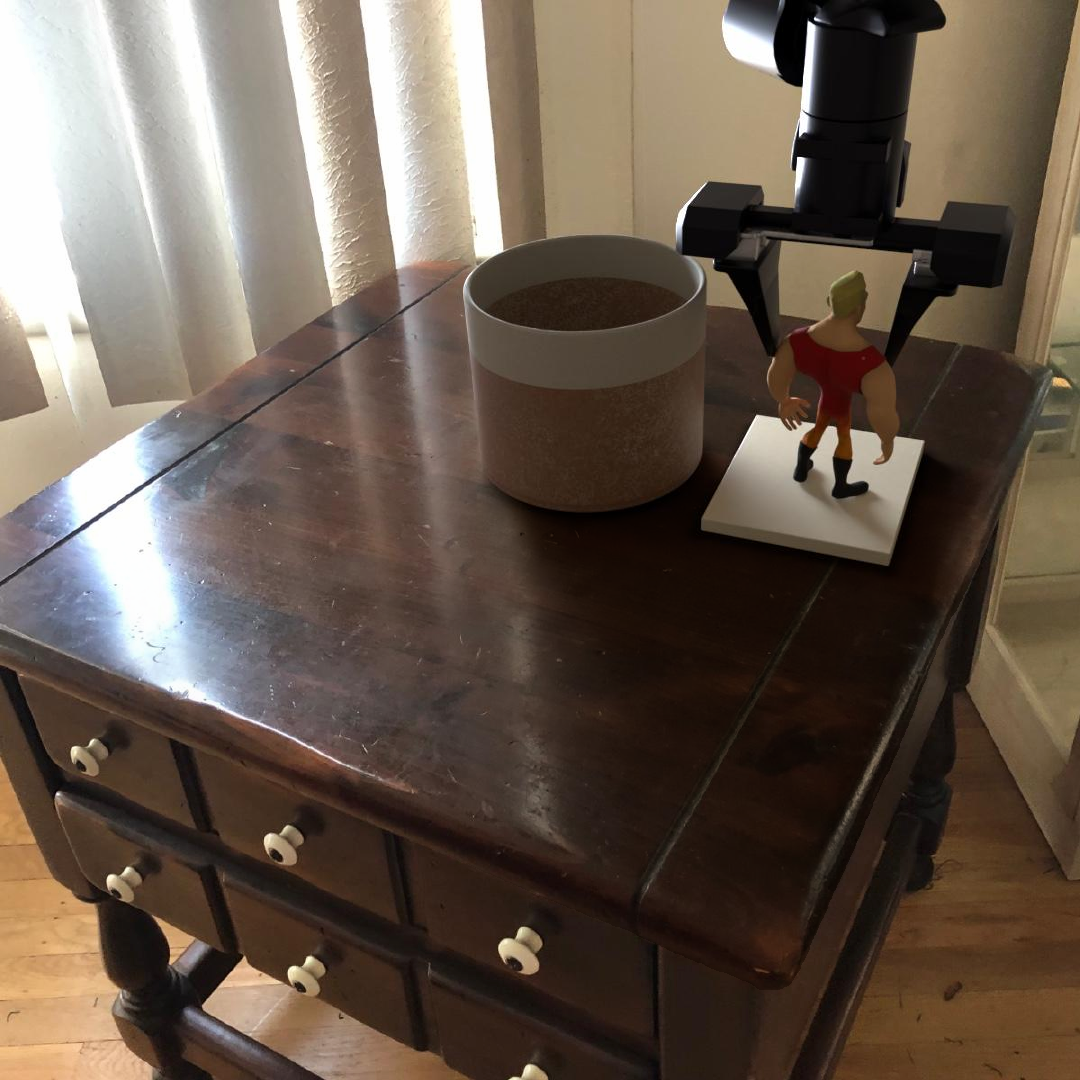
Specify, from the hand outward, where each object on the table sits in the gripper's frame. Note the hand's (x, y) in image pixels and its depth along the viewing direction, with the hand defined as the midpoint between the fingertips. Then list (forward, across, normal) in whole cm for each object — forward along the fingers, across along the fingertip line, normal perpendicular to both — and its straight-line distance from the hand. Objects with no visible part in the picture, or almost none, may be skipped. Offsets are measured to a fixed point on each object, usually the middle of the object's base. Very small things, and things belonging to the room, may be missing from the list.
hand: (828, 362), depth 72 cm
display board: (+10, 0, 0) cm, 10 cm away
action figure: (+9, -1, 0) cm, 9 cm away
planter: (+10, +16, +1) cm, 19 cm away
